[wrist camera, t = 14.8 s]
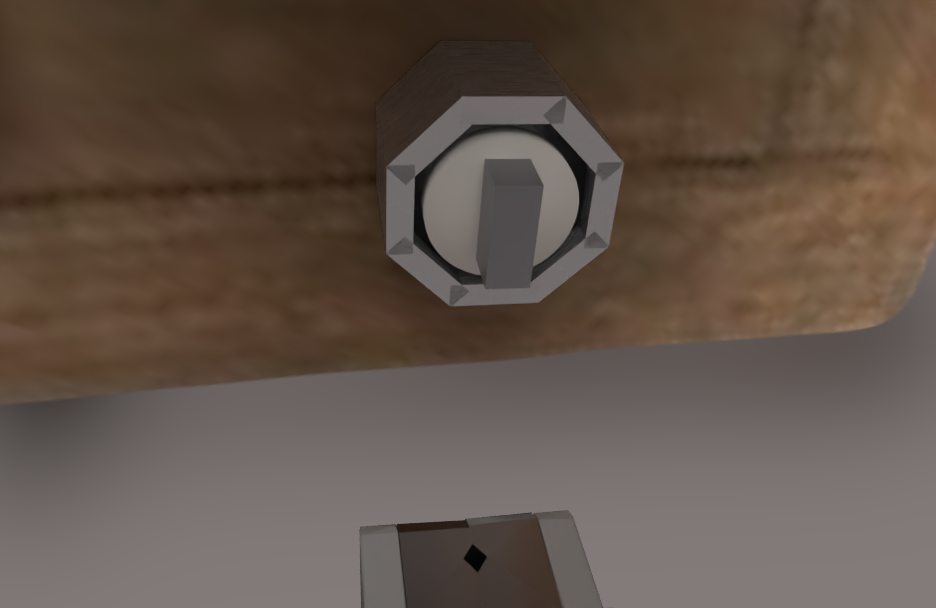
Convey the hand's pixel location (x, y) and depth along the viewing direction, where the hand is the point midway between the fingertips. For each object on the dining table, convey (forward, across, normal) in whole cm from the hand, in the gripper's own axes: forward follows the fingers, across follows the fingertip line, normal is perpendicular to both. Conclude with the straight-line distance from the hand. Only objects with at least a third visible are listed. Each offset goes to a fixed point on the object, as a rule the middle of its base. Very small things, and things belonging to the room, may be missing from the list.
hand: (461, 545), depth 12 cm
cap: (+25, -6, +8) cm, 27 cm away
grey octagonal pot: (+31, -6, +8) cm, 33 cm away
